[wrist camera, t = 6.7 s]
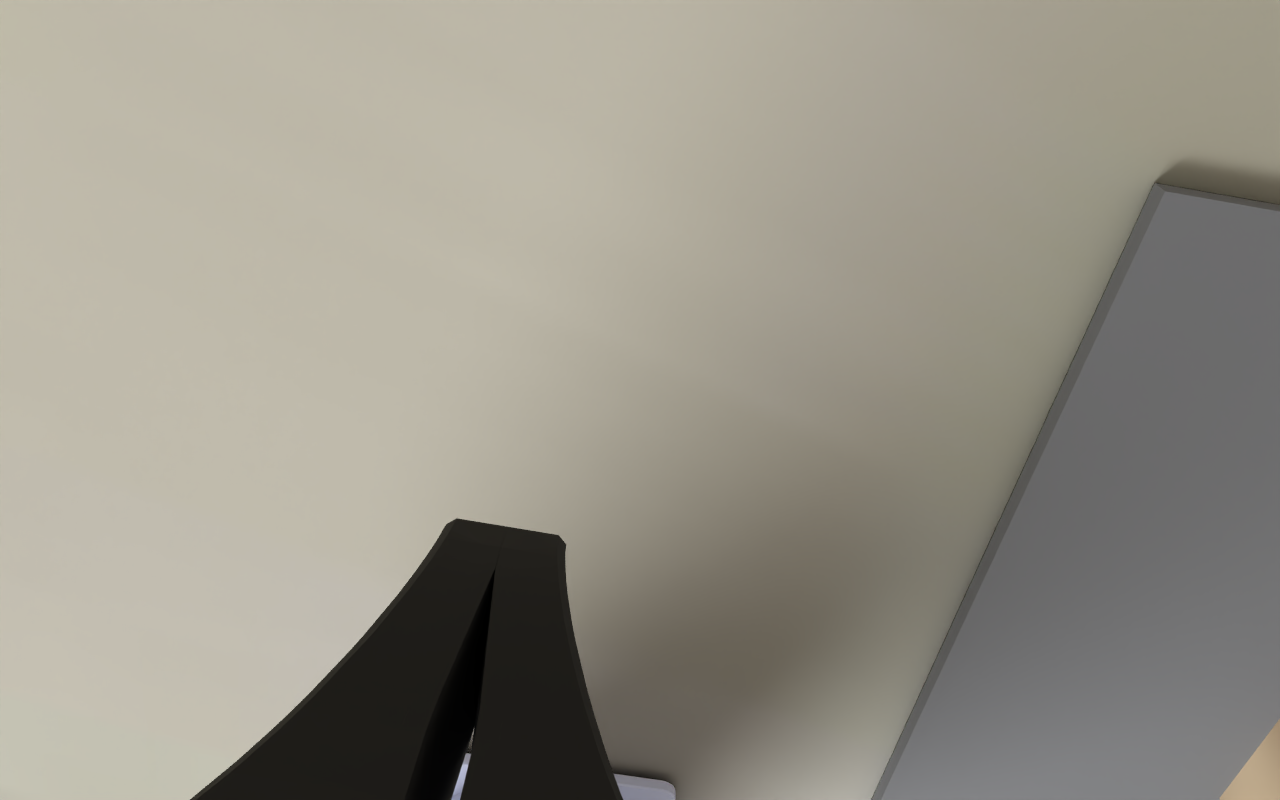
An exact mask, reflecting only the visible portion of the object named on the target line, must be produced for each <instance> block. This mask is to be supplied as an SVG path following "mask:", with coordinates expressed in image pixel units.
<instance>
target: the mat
mask: <svg viewBox="0 0 1280 800" xmlns="http://www.w3.org/2000/svg"><path fill="white" fill-rule="evenodd" d="M1279 719H1280V205H1277V204H1271V203H1265V202H1260V201H1254V200H1248V199H1243V198H1237V197H1231V196H1226V195H1220V194H1214V193H1209V192H1203V191H1197V190H1192V189H1186V188H1180V187H1175V186H1169V185H1163V184H1158V183H1154V185H1153V187H1152V189H1151V192H1150V194H1149V196H1148V198H1147V200H1146V202H1145V205H1144V207H1143V209H1142V211H1141V213H1140V216H1139V218H1138V220H1137V222H1136V224H1135V226H1134V229H1133V231H1132V233H1131V235H1130V237H1129V240H1128V242H1127V244H1126V246H1125V248H1124V250H1123V253H1122V255H1121V257H1120V259H1119V261H1118V264H1117V266H1116V268H1115V270H1114V272H1113V274H1112V277H1111V279H1110V281H1109V283H1108V285H1107V287H1106V290H1105V292H1104V294H1103V296H1102V298H1101V301H1100V303H1099V305H1098V307H1097V309H1096V311H1095V314H1094V316H1093V318H1092V320H1091V322H1090V325H1089V327H1088V329H1087V331H1086V333H1085V335H1084V338H1083V340H1082V342H1081V344H1080V346H1079V349H1078V351H1077V353H1076V355H1075V357H1074V359H1073V362H1072V364H1071V366H1070V368H1069V370H1068V373H1067V375H1066V377H1065V379H1064V381H1063V383H1062V386H1061V388H1060V390H1059V392H1058V394H1057V397H1056V399H1055V401H1054V403H1053V405H1052V407H1051V410H1050V412H1049V414H1048V416H1047V418H1046V421H1045V423H1044V425H1043V427H1042V429H1041V431H1040V434H1039V436H1038V438H1037V440H1036V442H1035V444H1034V447H1033V449H1032V451H1031V453H1030V455H1029V458H1028V460H1027V462H1026V464H1025V466H1024V468H1023V471H1022V473H1021V475H1020V477H1019V479H1018V482H1017V484H1016V486H1015V488H1014V490H1013V492H1012V495H1011V497H1010V499H1009V501H1008V503H1007V506H1006V508H1005V510H1004V512H1003V514H1002V516H1001V519H1000V521H999V523H998V525H997V527H996V530H995V532H994V534H993V536H992V538H991V540H990V543H989V545H988V547H987V549H986V551H985V554H984V556H983V558H982V560H981V562H980V564H979V567H978V569H977V571H976V573H975V575H974V577H973V580H972V582H971V584H970V586H969V588H968V591H967V593H966V595H965V597H964V599H963V601H962V604H961V606H960V608H959V610H958V612H957V615H956V617H955V619H954V621H953V623H952V625H951V628H950V630H949V632H948V634H947V636H946V639H945V641H944V643H943V645H942V647H941V649H940V652H939V654H938V656H937V658H936V660H935V663H934V665H933V667H932V669H931V671H930V673H929V676H928V678H927V680H926V682H925V684H924V687H923V689H922V691H921V693H920V695H919V697H918V700H917V702H916V704H915V706H914V708H913V710H912V713H911V715H910V717H909V719H908V721H907V724H906V726H905V728H904V730H903V732H902V734H901V737H900V739H899V741H898V743H897V745H896V748H895V750H894V752H893V754H892V756H891V758H890V761H889V763H888V765H887V767H886V769H885V772H884V774H883V776H882V778H881V780H880V782H879V785H878V787H877V789H876V791H875V793H874V796H873V798H872V800H1220V797H1221V796H1222V794H1223V793H1224V792H1225V790H1226V789H1227V788H1228V786H1229V785H1230V784H1231V782H1232V781H1233V780H1234V778H1235V777H1236V776H1237V775H1238V773H1239V772H1240V771H1241V769H1242V768H1243V767H1244V765H1245V764H1246V763H1247V761H1248V760H1249V759H1250V757H1251V756H1252V755H1253V753H1254V752H1255V751H1256V749H1257V748H1258V747H1259V745H1260V744H1261V743H1262V741H1263V740H1264V739H1265V738H1266V736H1267V735H1268V734H1269V732H1270V731H1271V730H1272V728H1273V727H1274V726H1275V724H1276V723H1277V722H1278V720H1279Z"/></svg>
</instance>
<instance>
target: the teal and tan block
mask: <svg viewBox="0 0 1280 800" xmlns="http://www.w3.org/2000/svg"><path fill="white" fill-rule="evenodd" d="M1220 800H1280V719H1279V720H1278V722H1277V723H1276V724H1275V726H1274V727H1273V728H1272V730H1271V731H1270V732H1269V734H1268V735H1267V736H1266V738H1265V739H1264V740H1263V741H1262V743H1261V744H1260V745H1259V747H1258V748H1257V749H1256V751H1255V752H1254V753H1253V755H1252V756H1251V757H1250V759H1249V760H1248V761H1247V763H1246V764H1245V765H1244V767H1243V768H1242V769H1241V771H1240V772H1239V773H1238V775H1237V776H1236V777H1235V778H1234V780H1233V781H1232V782H1231V784H1230V785H1229V786H1228V788H1227V789H1226V790H1225V792H1224V793H1223V794H1222V796H1221V797H1220Z"/></svg>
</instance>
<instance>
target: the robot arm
mask: <svg viewBox="0 0 1280 800" xmlns="http://www.w3.org/2000/svg"><path fill="white" fill-rule="evenodd" d="M565 550H566V544H565V543H564V541H563V540H562V539H561V538H560V536H559V535H554V534H548V533H542V532H536V531H530V530H524V529H517V528H511V527H505V526H499V525H493V524H487V523H481V522H475V521H469V520H462V519H455V520H453V521H451V522H450V523H448V524H446V526H445V528H444V529H443V531H442V533H441V534H440V536H439V538H438V539H437V541H436V543H435V544H434V546H433V547H432V549H431V550H430V552H429V553H428V555H427V556H426V558H425V559H424V560H423V562H422V563H421V565H420V566H419V567H418V569H417V570H416V571H415V573H414V574H413V575H412V577H411V578H410V579H409V581H408V582H407V583H406V585H405V586H404V587H403V589H402V590H401V591H400V592H399V594H398V595H397V596H396V597H395V599H394V600H393V601H392V602H391V603H390V605H389V606H388V607H387V608H386V609H385V611H384V612H383V613H382V614H381V615H380V617H379V618H378V619H377V620H376V621H375V623H374V624H373V625H372V626H371V627H370V629H369V630H368V631H367V632H366V633H365V634H364V636H363V637H362V638H361V639H360V640H359V641H358V642H357V644H356V645H355V646H354V647H353V648H352V649H351V650H350V651H349V652H348V653H347V654H346V655H345V657H344V658H343V659H342V660H341V661H340V662H339V663H338V664H337V665H336V666H335V667H334V668H333V669H332V670H331V671H330V672H329V673H328V674H327V675H326V677H325V678H324V679H323V680H322V681H321V682H320V683H319V684H318V685H317V686H316V687H315V688H314V689H313V690H312V691H311V692H310V693H309V694H308V695H307V696H306V697H305V698H304V699H303V700H302V701H301V702H300V703H299V704H298V705H297V706H296V707H295V708H294V709H293V710H292V711H291V712H290V713H289V714H288V715H287V716H286V717H285V718H284V719H283V720H282V721H281V722H279V723H278V724H277V725H276V726H275V727H274V728H273V729H272V730H271V731H270V732H269V733H268V734H267V735H265V736H264V737H263V738H262V739H261V740H260V741H259V742H258V743H256V744H255V745H254V746H253V747H252V748H251V749H250V750H249V751H248V752H246V753H245V754H244V755H243V756H242V757H241V758H240V759H239V760H237V761H236V762H235V763H234V764H233V765H232V766H230V767H229V768H228V769H227V770H226V771H224V772H223V773H222V774H221V775H219V776H218V777H217V778H216V779H215V780H213V781H212V782H211V783H210V784H209V785H207V786H206V787H205V788H204V789H202V790H201V791H200V792H199V793H198V794H196V795H195V796H194V797H193V798H192V799H190V800H676V789H675V788H674V786H673V785H672V784H670V783H669V782H666V781H663V780H656V779H649V778H642V777H634V776H627V775H620V774H613V771H612V768H611V765H610V763H609V760H608V757H607V754H606V751H605V748H604V745H603V742H602V738H601V735H600V732H599V729H598V726H597V722H596V719H595V716H594V713H593V709H592V706H591V702H590V699H589V695H588V691H587V688H586V684H585V680H584V675H583V671H582V667H581V663H580V659H579V654H578V650H577V646H576V642H575V636H574V631H573V626H572V621H571V614H570V608H569V601H568V594H567V585H566V572H565ZM473 729H474V735H473V743H472V752H471V754H470V753H466V752H467V749H468V745H469V742H470V739H471V736H472V733H473Z"/></svg>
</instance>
